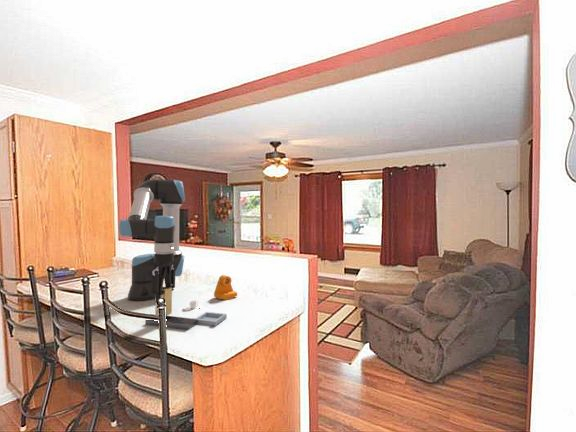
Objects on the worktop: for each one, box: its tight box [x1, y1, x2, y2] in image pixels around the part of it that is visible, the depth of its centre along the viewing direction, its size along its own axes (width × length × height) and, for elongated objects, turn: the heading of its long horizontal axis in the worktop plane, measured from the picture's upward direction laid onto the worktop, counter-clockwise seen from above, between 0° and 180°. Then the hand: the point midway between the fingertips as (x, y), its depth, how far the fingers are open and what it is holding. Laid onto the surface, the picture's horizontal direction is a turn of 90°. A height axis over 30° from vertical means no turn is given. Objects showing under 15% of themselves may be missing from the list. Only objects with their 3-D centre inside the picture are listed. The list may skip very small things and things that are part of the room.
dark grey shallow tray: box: [144, 315, 199, 331], centre depth 125 cm, size 20×7×2 cm, turn 75°
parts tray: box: [194, 311, 227, 327], centre depth 131 cm, size 10×10×2 cm
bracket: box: [213, 274, 238, 301], centre depth 167 cm, size 11×7×12 cm, turn 131°
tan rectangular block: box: [154, 286, 173, 316], centre depth 127 cm, size 4×4×11 cm
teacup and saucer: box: [182, 300, 202, 312], centre depth 147 cm, size 9×8×4 cm
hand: (163, 307), depth 127 cm, fingers closed on tan rectangular block, 4 cm apart
